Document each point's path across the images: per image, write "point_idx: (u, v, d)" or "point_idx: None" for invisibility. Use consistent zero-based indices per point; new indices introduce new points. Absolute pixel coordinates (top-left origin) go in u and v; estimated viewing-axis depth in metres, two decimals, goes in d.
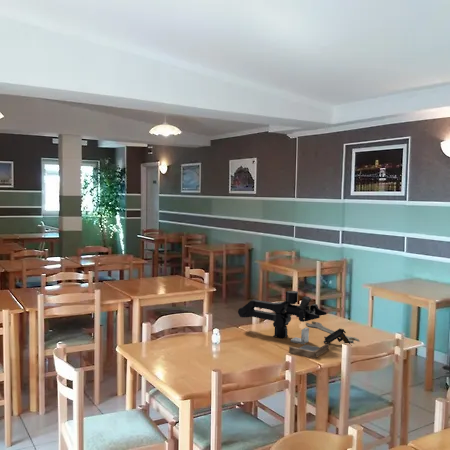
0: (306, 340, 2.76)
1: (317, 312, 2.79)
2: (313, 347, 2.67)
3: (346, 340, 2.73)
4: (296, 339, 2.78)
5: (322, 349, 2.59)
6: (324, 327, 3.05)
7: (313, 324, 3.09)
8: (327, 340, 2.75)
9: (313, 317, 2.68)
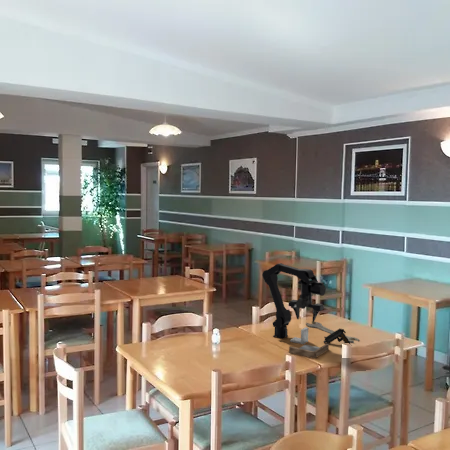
0: (306, 340, 2.76)
1: None
2: (313, 347, 2.67)
3: (346, 340, 2.73)
4: (296, 339, 2.79)
5: (322, 349, 2.59)
6: (324, 327, 3.05)
7: (313, 324, 3.09)
8: (327, 340, 2.75)
9: None
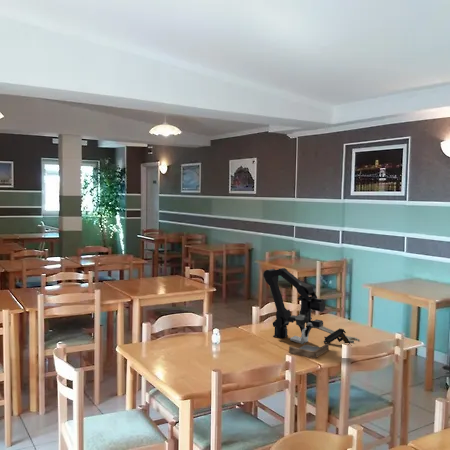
0: (306, 340, 2.76)
1: None
2: (313, 347, 2.67)
3: (346, 340, 2.73)
4: (296, 338, 2.79)
5: (322, 349, 2.59)
6: (324, 327, 3.05)
7: None
8: (327, 340, 2.75)
9: None
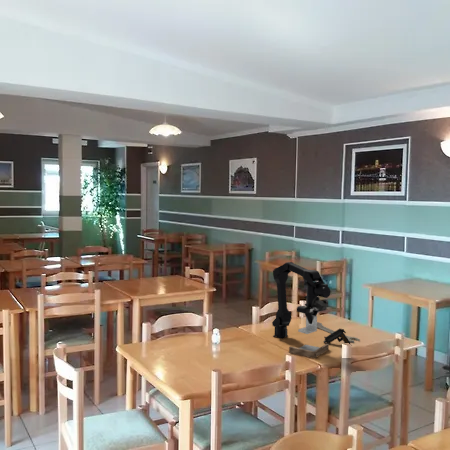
0: None
1: (312, 313, 2.67)
2: (313, 347, 2.67)
3: (346, 340, 2.73)
4: (306, 329, 2.63)
5: (322, 349, 2.59)
6: (325, 327, 3.05)
7: None
8: (327, 340, 2.75)
9: (308, 318, 2.65)
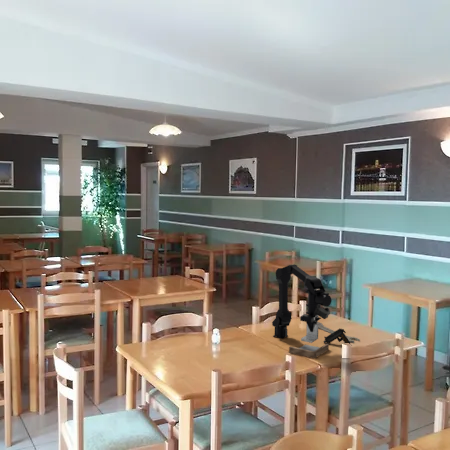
0: None
1: None
2: (313, 347, 2.67)
3: (346, 340, 2.73)
4: (309, 338, 2.61)
5: (322, 349, 2.59)
6: (325, 327, 3.05)
7: None
8: (327, 340, 2.75)
9: (309, 326, 2.63)
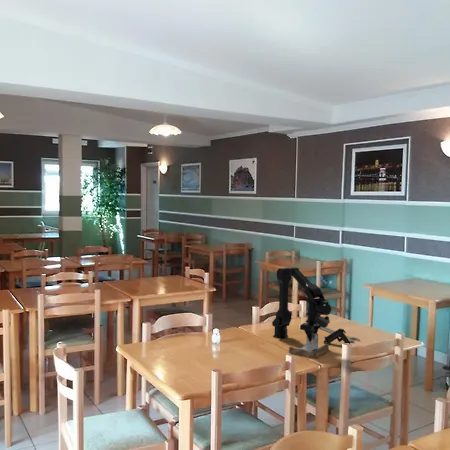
0: None
1: (314, 328, 2.67)
2: None
3: (346, 340, 2.73)
4: (309, 348, 2.61)
5: (322, 349, 2.59)
6: (325, 327, 3.05)
7: None
8: (327, 340, 2.75)
9: (308, 335, 2.62)
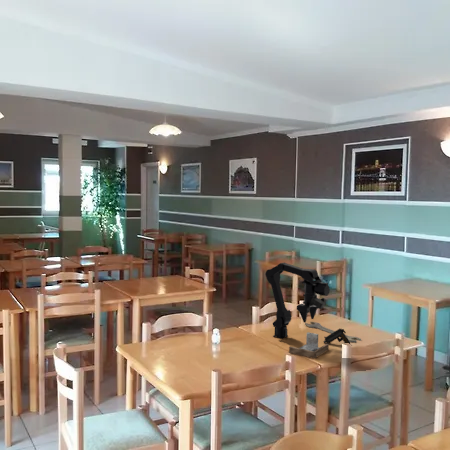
0: None
1: (312, 309, 2.78)
2: None
3: (346, 340, 2.73)
4: (309, 348, 2.61)
5: (322, 349, 2.59)
6: (324, 327, 3.05)
7: (312, 324, 3.09)
8: (327, 340, 2.75)
9: (303, 317, 2.70)
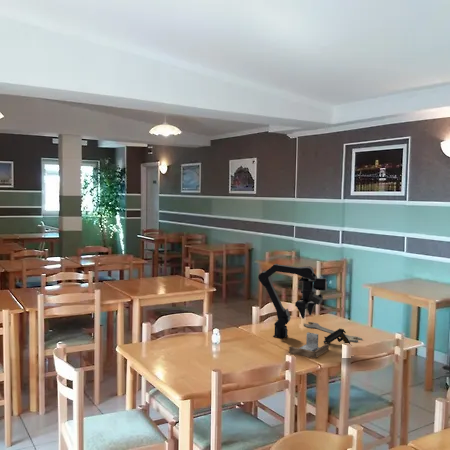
0: None
1: (310, 305, 2.85)
2: None
3: (346, 340, 2.73)
4: (309, 348, 2.61)
5: (322, 349, 2.59)
6: (323, 327, 3.04)
7: (311, 325, 3.08)
8: (327, 340, 2.75)
9: (301, 313, 2.77)
